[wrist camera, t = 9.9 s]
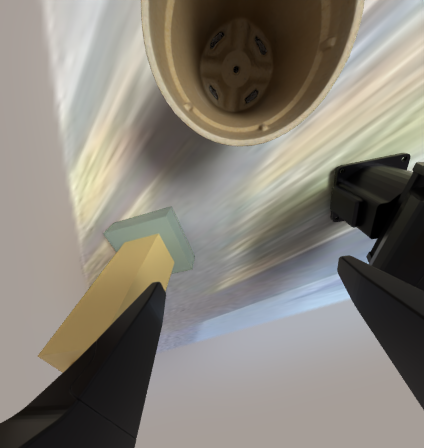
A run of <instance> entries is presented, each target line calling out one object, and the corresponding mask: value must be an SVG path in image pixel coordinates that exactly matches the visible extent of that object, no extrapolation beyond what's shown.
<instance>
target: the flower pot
mask: <svg viewBox="0 0 424 448" xmlns="http://www.w3.org/2000/svg"><path fill="white" fill-rule="evenodd" d="M364 1H365V0H141V17H142V30H143V37H144V44H145V49H146V54H147V57H148V61H149V64H150V68H151V70H152V74H153V76H154V78H155V81H156V83H157V85H158V87H159V89H160V91H161V93H162V95H163V96H164V98H165V100H166V102H167V103H168V105H169V106H170V107H171V108H172V110H173V111H174V113H175V114H176V115H177V116H178V117H179V118H180V119H181V120H182V121H183V122H184V123H185V124H186V125H187V126H188V127H189V128H191V129H192V130H193V131H195V132H196V133H197V134H199V135H201V136H203V137H204V138H206V139H209V140H211V141H214V142H217V143H220V144H225V145H230V146H252V145H257V144H262V143H265V142H268V141H271V140H273V139H275V138H278V137H280V136H281V135H283V134H286V133H287V132H289V131H290V130H292V129H293V128H295V127H296V126H297V125H299V124H300V123H301V122H302V121H304V119H306V118H307V117H308V116H309V115H310V114H311V113H312V112H313V111H314V110H315V109H316V108H317V106H318V105H319V104H320V103H321V102H322V101H323V100H324V98H325V97H326V95H327V94H328V92H329V91H330V89H331V88H332V86H333V84H334V83H335V81H336V80H337V78H338V77H339V75H340V73H341V72H342V70H343V68H344V66H345V63H346V62H347V60H348V58H349V55H350V53H351V50H352V47H353V44H354V42H355V39H356V36H357V32H358V30H359V25H360V23H361V18H362V14H363V8H364ZM220 32H223V33H224V36H223V37H222V38H221V39H220V40H219V41H218V43H217V44H216V45H215V46H214V48H211V47H210V44H211V42H212V39H213V38H214V37H215V36H216V35H217V34H218V33H220ZM256 37H258V39H260V40H261V41H262V43H263V44H264V46H265V48H266V53H265V54H261V52H260V49H259V46H258V45H257V43H256V42H255V38H256ZM235 66H237V67H238V68H239V70H238V72H237V73H235V72H234V67H235ZM210 86H212V88H213V89H214V90H216V94H217V95H218V98H217V99H216V98H215V97H214V95H213V94H212V93H211V91H210ZM254 90H257V92H258V95H257V97H256V98H254V99H253V100H251V101H250V102H249V103H246V101H245V99H246V98H247V97H248V96H249V95H250V94H251V93H252V92H253V91H254Z"/></svg>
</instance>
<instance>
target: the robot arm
mask: <svg viewBox="0 0 424 448" xmlns="http://www.w3.org/2000/svg"><path fill="white" fill-rule="evenodd" d="M403 157H404V158H403ZM402 158H403V160H401V159H402ZM409 160H410V154H407V153H400V154H395V155H390V156H385V157H380V158H375V159H370V160H365V161H360V162H355V163H350V164H345V165H341V166H339V167H337V169H336V171H335V181H334V187H333V188H332V195H331V205H330V209H331V220H332V221H334V222H340V221H346V222H347V223H348V224H349V225H350V226H352V227H353V228H355V227H357V228H358V229H360V230H361V231H362V232H363V233H365V234H366V235H367V236H368V237H370V238H371V239H377V238H378V239H377V241H376V243H375V245H374V246H373V248H372V250H371V252H369V253H368V255H367V259H368V262H369V264H367V263H365V262H363V261H360V260H358V259H356V258H354V257H352V256H341V257H340V258H339V262H338V268H337V271H338V274H339V276H340V278H341V280H342V282H343V284H344V286H345V288H346V290H347V292H348V294H349V295H350V297H351V299H352V301H353V303H354V305H355V306H356V308H357V310H358V311H359V313H360V314H361V316H362V317H363V319H364V320H365V322H366V323H367V325H368V326H369V328H370V329H371V331H372V332H373V333H374V335H375V337H376V338H377V340H378V341H379V343H380V344H381V346H382V347H383V349H384V350H385V352H386V353H387V355H388V356H389V358H390V360H391V361H392V363H393V364H394V365H395V367H396V369H397V370H398V372H399V373H400V375H401V376H402V378H403V379H404V381H405V382H406V384H407V385H408V387H409V388H410V390H411V391H412V393H413V394H414V396H415V397H416V399H417V400H418V402H419V403H420V405H421V407H422V408H423V409H424V162H416V164H415V166H414V168H413V169H412V170H413V172H411V171H407V167H408V164H409ZM342 169H343V171H342V172H341V173H340V171H341V170H342ZM335 217H337V218H335ZM165 299H166V292H165V290H164V288H163V286H162V284H161V282H153V283H151V284H150V285H149V286H148V287H147V288H146V289H145V290H144V291H143V292H142V293H141V294H140V295H139V297H138V298H137V299H136V300H135V301H134V302H133V303H132V304H131V305H130V306H129V307H128V308H127V309H126V310H125V311H124V312H123V313H122V314H121V315H120V316H119V317H118V318H117V319H116V320H115V321H114V322H113V323H112V324H111V325H110V326H109V327H108V328H107V329H106V331H105V332H104V333H103V334H102V335H101V336H100V337H99V338H98V339H97V341H95V342H94V343H93V344H92V345H91V346H90V347H89V348H88V349H87V350H86V351H85V352H84V353H83V354H82V355H81V356H80V357H79V358H78V359H77V360H76V361H75V362H74V363H73V364H72V365H71V366H70V367H69V368H68V369H66V370H65V371H64V372H63V373H62V374H61V375H60V376H59V377H58V378H57V379H56V380H55V381H54V382H52V384H50V385H49V386H48V387H47V388H46V389H45V390H44V391H43V392H42V393H41V394H39V395H38V396H37V397H36V398H35V399H34V400H33V401H32V402H31V403H30V404H29V405H27V406H26V407H25V408H24V409H23V410H21V411H20V412H19V413H17V414H15V415H14V416H12V417H11V418H9V419H8V420H6V421H4V422H2V423H0V448H134V447H135V443H136V438H137V434H138V429H139V425H140V420H141V416H142V411H143V407H144V403H145V398H146V394H147V389H148V385H149V381H150V376H151V372H152V367H153V363H154V358H155V354H156V350H157V346H158V341H159V337H160V332H161V328H162V323H163V315H164V307H165Z"/></svg>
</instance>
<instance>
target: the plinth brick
mask: <svg viewBox="0 0 424 448" xmlns="http://www.w3.org/2000/svg"><path fill="white" fill-rule="evenodd" d="M158 233H159V235H160V237H161V239H162V240H163V242H164V244H165V246H166V248H167V250H168V251H169V253H170V255H171V257H172V259H173V261H174V266H173V269H172V272H171V274H173V273H178V272H183V271H187V270H192V269H193V263H194V258H195V256H194V254H193V252H192V250H191V248H190V245H189V243H188V241H187V239H186V237H185V235H184V233H183V230H182V228H181V226H180V224H179V222H178V220H177V217H176V215H175V213H174V211H173V209H172V207H168V208H164V209H161V210H157V211H154V212H150V213H147V214H143V215H140V216H136V217H133V218H129V219H126V220H122V221H119V222H115V223H113V224H112V225H111V226H110V227H109V228H108V229H107V230H106V231H105V232H104V233H103V234H104V235H105V237H106V238H107V239H108V241H109V242H110V244H111V245H112V246H113V248H114V249H115V251H116V252H118V250H119V249H120V248H121V246H122V245H123V244H124V242H128V241H132V240H136V239H139V238H143V237H147V236H151V235H155V234H158Z"/></svg>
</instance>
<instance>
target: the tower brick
mask: <svg viewBox="0 0 424 448" xmlns="http://www.w3.org/2000/svg"><path fill="white" fill-rule="evenodd" d="M173 266H174V261H173V259H172V257H171V255H170V253H169V251H168V250H167V248H166V246H165V244H164V242H163V240H162V239H161V237H160V235H159V233H158V234H155V235H151V236H147V237H143V238H139V239H136V240H132V241H128V242H124V244H123V245H122V246H121V248H120V249H119V250H118V252H117V253H116V254H115V256H114V257H113V258H112V259H111V261H110V262H109V263H108V265H107V266H106V267H105V269H104V270H103V271H102V273H101V274H100V275H99V276H98V278H97V279H96V280H95V282H94V283H93V284H92V286H91V287H90V288H89V289H88V291H87V292H86V293H85V295H84V296H83V297H82V299H81V300H80V301H79V303H78V304H77V305H76V306H75V308H74V309H73V310H72V312H71V313H70V314H69V316H68V317H67V318H66V320H65V321H64V322H63V323H62V325H61V326H60V327H59V329H58V330H57V331H56V333H55V334H54V335H53V337H52V338H51V339H50V341H49V342H48V343H47V344H46V346H45V347H44V348H43V350H42V351H41V352H40V354H39V355H38V357H40V358H41V359H43V360H44V361H46V362H47V363H49V364H50V365H52V366H53V367H55V368H56V369H58V370H59V371H61V372H62V373H63V372H64V371H65V370H66V369H68V368H69V367H70V366H71V365H72V364H73V363H74V362H75V361H76V360H77V359H78V358H79V357H80V356H81V355H82V354H83V353H84V352H85V351H86V350H87V349H88V348H89V347H90V346H91V345H92V344H93V343H94V342H95V341H97V339H98V338H99V337H100V336H101V335H102V334H103V333H104V332H105V331H106V329H107V328H108V327H109V326H110V325H111V324H112V323H113V322H114V321H115V320H116V319H117V318H118V317H119V316H120V315H121V314H122V313H123V312H124V311H125V310H126V309H127V308H128V307H129V306H130V305H131V304H132V303H133V302H134V301H135V300H136V299H137V298H138V297H139V295H140V294H141V293H142V292H143V291H144V290H145V289H146V288H147V287H148V286H149V285H150V284H151V283H153V282H161V284H162V286H163V288H164V290H165V291H166V288H167V285H168V281H169V278H170V275H171V272H172V269H173Z"/></svg>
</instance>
